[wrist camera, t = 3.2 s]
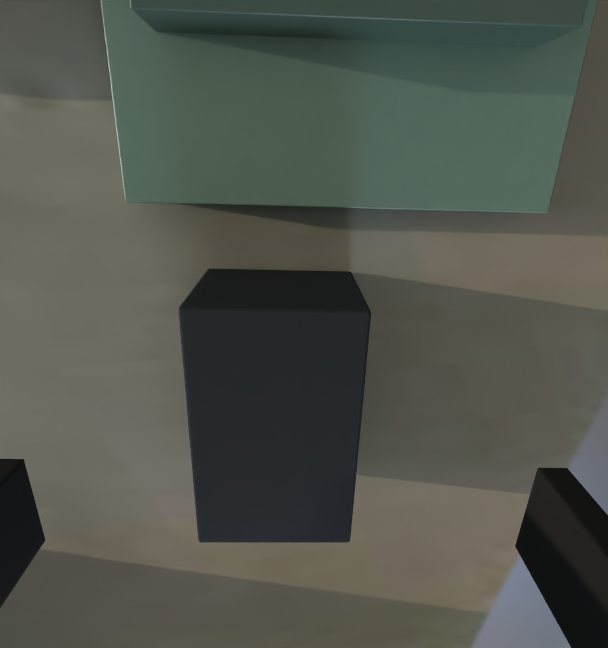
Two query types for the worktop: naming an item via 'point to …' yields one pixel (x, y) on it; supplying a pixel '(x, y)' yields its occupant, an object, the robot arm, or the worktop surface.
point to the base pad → (345, 101)
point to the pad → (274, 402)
